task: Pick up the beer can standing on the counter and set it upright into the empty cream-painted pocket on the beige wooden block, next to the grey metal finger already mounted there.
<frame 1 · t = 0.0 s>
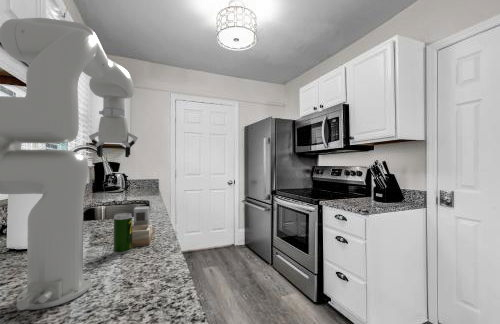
hand: (113, 157, 96), 31 cm above the countertop, fingers open, 9 cm apart
beer can: (122, 252, 78), on the countertop
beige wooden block: (139, 239, 90), on the countertop
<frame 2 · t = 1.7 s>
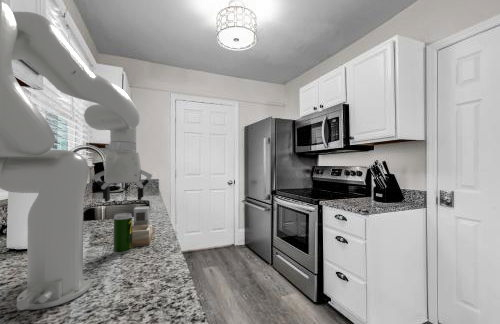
hand: (123, 200, 79), 17 cm above the countertop, fingers open, 9 cm apart
nothing on the countertop moved.
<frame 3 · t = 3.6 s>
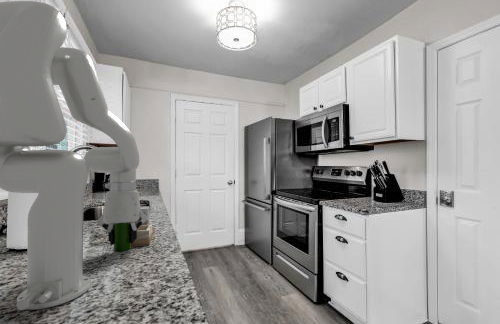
hand: (122, 242, 78), 3 cm above the countertop, fingers closed on beer can, 5 cm apart
beer can: (122, 252, 78), on the countertop, touching gripper
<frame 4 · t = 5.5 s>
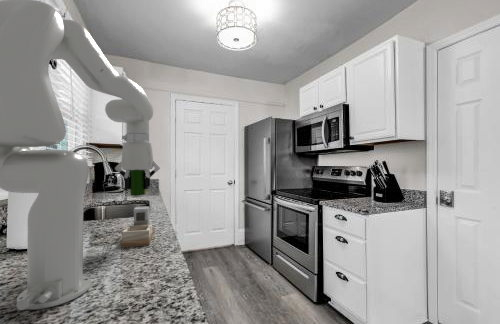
hand: (138, 188, 88), 20 cm above the countertop, fingers closed on beer can, 5 cm apart
beer can: (138, 197, 88), point 16 cm above the countertop, touching gripper
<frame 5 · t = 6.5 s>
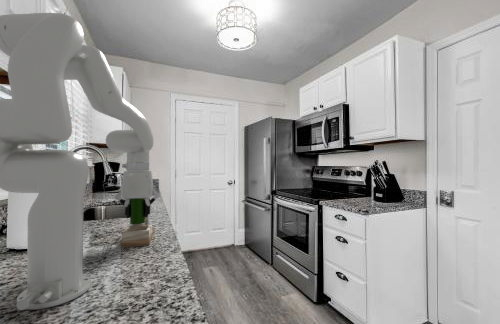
hand: (137, 216, 88), 9 cm above the countertop, fingers closed on beer can, 5 cm apart
beer can: (137, 224, 88), point 6 cm above the countertop, touching gripper
when the fingers open (6 cm above the countertop, at t = 7.5 s): beer can drops 1 cm, resting on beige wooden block.
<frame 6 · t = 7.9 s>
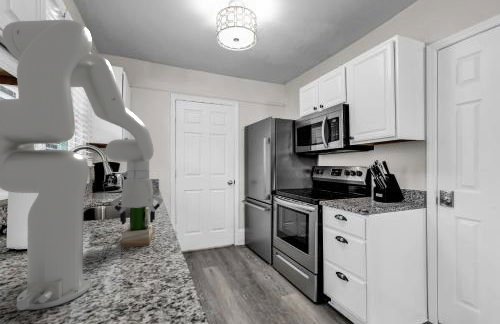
hand: (138, 222, 88), 7 cm above the countertop, fingers open, 9 cm apart
beer can: (137, 236, 87), point 2 cm above the countertop, touching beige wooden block
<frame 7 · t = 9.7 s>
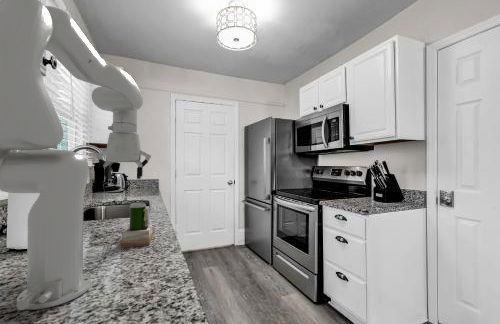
hand: (123, 178, 83), 23 cm above the countertop, fingers open, 9 cm apart
nothing on the countertop moved.
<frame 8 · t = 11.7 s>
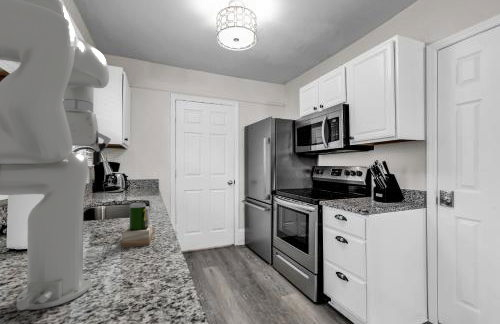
hand: (78, 164, 73), 28 cm above the countertop, fingers open, 9 cm apart
nothing on the countertop moved.
at the end: beer can 0.1 cm from the target spot on the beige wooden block, point 1.8 cm above the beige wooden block's base; beer can tilted 0°; the gripper is holding nothing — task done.
